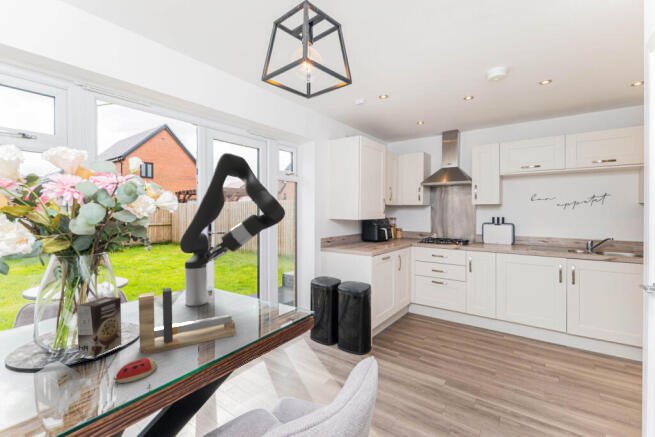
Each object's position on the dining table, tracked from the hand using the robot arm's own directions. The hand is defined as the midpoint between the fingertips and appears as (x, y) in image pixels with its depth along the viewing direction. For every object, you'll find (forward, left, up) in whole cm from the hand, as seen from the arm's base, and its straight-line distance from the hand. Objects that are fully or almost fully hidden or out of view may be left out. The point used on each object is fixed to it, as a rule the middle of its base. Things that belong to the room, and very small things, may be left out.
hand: (199, 265), depth 108 cm
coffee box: (-2, -29, -24) cm, 38 cm away
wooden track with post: (+7, -5, -24) cm, 25 cm away
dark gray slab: (+6, -12, -22) cm, 26 cm away
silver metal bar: (+7, -5, -21) cm, 22 cm away
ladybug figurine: (+20, -23, -24) cm, 39 cm away
